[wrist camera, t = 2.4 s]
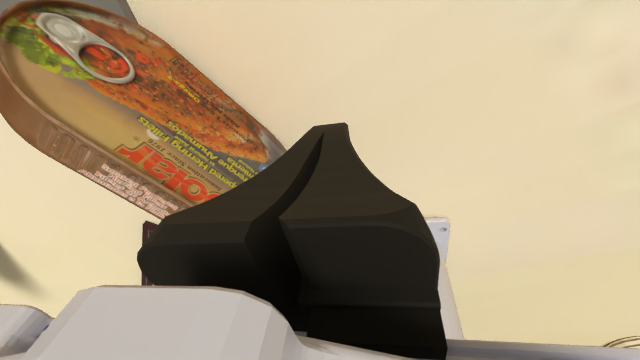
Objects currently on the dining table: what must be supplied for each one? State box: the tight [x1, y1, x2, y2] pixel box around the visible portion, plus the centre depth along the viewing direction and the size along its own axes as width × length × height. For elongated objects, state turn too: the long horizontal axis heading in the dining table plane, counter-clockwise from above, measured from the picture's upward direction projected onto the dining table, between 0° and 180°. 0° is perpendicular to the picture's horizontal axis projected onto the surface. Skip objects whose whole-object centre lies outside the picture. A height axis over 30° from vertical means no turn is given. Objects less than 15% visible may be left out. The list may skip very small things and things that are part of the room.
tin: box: [0, 0, 286, 220], centre depth 15 cm, size 15×3×8 cm, turn 43°
